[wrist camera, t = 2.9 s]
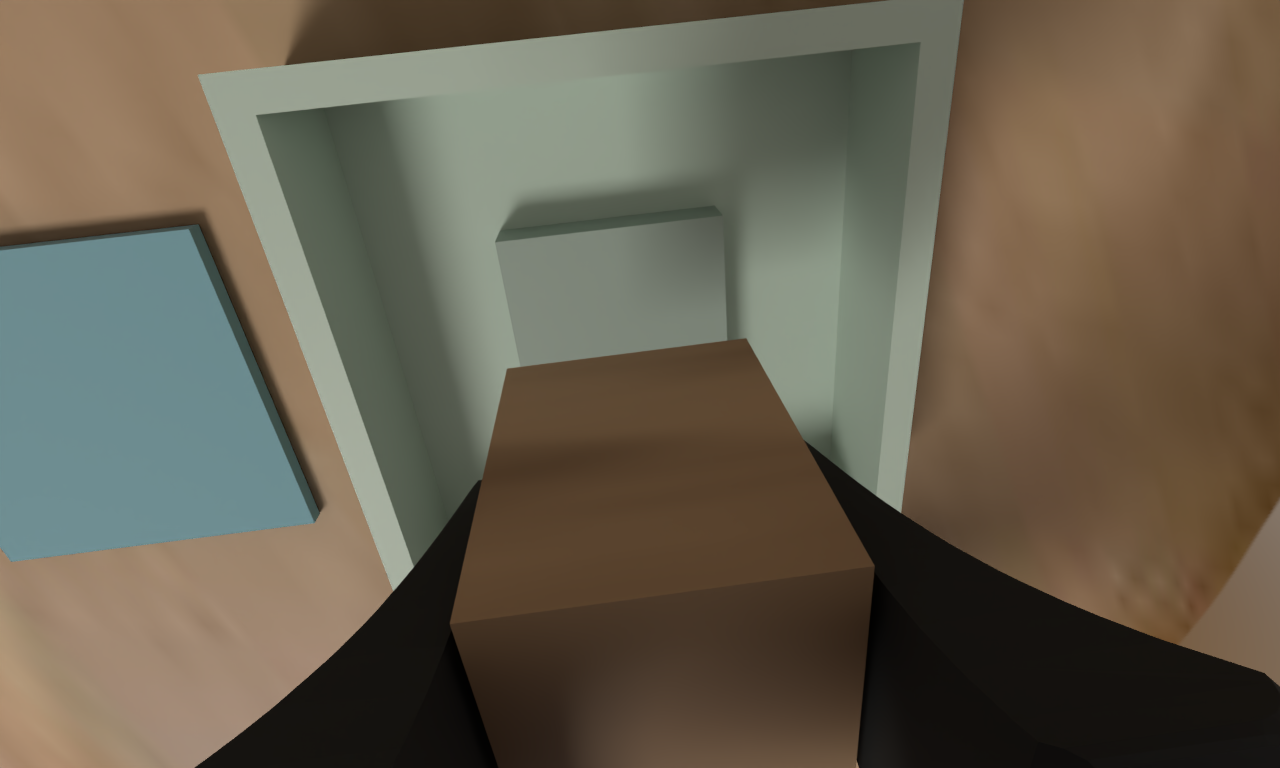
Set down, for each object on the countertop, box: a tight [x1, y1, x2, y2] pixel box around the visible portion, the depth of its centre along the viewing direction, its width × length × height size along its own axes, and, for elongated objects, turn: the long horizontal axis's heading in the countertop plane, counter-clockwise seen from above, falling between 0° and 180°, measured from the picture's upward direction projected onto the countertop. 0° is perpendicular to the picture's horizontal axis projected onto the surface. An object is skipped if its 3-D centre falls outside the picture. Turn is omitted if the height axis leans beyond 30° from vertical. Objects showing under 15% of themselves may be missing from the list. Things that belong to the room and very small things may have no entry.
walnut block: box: [450, 338, 875, 768], centre depth 10 cm, size 4×4×6 cm
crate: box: [198, 0, 964, 591], centre depth 18 cm, size 15×15×4 cm
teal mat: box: [0, 224, 320, 562], centre depth 19 cm, size 10×10×1 cm
